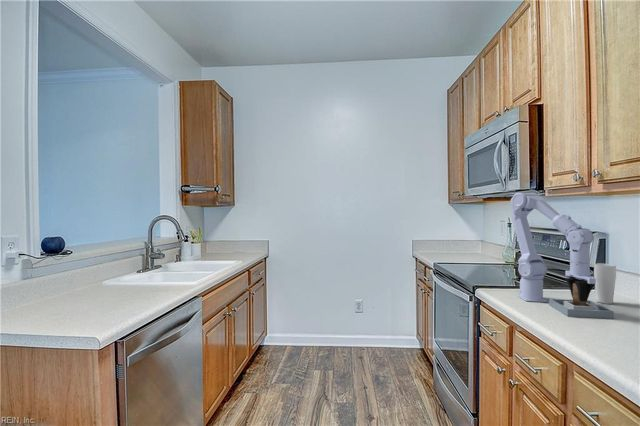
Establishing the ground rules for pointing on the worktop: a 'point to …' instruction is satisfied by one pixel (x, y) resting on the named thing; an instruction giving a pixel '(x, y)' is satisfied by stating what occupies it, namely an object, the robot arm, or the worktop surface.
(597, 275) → the drinking glass
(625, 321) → the worktop surface
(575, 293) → the walnut peg
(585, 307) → the candle dish
